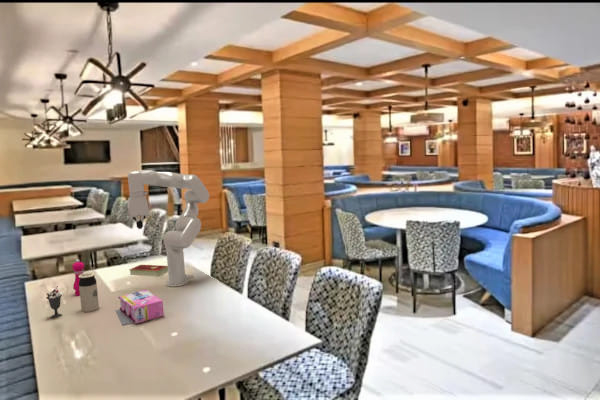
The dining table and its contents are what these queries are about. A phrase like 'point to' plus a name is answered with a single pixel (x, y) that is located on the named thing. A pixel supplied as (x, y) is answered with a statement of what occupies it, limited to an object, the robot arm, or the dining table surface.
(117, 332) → the dining table surface
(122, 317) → the rubber mat
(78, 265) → the pepper mill
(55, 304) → the sundae
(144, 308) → the gum box
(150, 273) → the hardcover book
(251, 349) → the dining table surface
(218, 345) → the dining table surface
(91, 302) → the travel mug
